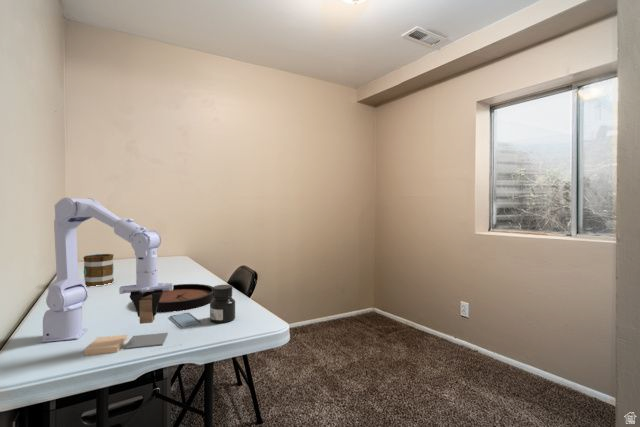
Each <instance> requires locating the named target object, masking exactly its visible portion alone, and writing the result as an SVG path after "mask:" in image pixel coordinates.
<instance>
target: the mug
mask: <svg viewBox="0 0 640 427" xmlns="http://www.w3.org/2000/svg"><path fill="white" fill-rule="evenodd" d="M114 256H115V255H114V253H113V254H111V253H99V254H98V253H96V254H89V255H88V254H87V255H85V256H83V275H84V277H83V278H84V279H83V280H85V285H87V286H96V285H104V284H108V283H112V282H113V281H114V282H115V280H114ZM114 282H113V283H114ZM113 283H112V284H113ZM87 286H86V287H87Z"/></svg>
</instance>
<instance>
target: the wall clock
mask: <svg viewBox="0 0 640 427" xmlns="http://www.w3.org/2000/svg"><path fill="white" fill-rule="evenodd" d="M213 287H214V286H212V285H208V284H202V283H201V284H199V283H183V284H182V283H181V284H179V283H178V284H173V290H172V291H169V290H166V291H164V292H163V294H162V296H161V298H160V301H159V304H158V307H157V313H172V312H173V311H176V312H182V311H183V310H184V311H189V310H193V309H198V308H201V307H205V306H207V305H210V302H211V301H212V300H213V299H214V298H213ZM153 292H154V291H150V292H143V293H142V297H152V293H153ZM173 313H174V312H173Z"/></svg>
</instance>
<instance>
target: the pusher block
mask: <svg viewBox="0 0 640 427" xmlns="http://www.w3.org/2000/svg"><path fill="white" fill-rule="evenodd" d="M139 313H140V317H139V324H142V325H143V324H153V322H154V321H155V319H156V318H155V316H156V315H155V316H153V300H152V297H142V298H141V299H140V300H139Z"/></svg>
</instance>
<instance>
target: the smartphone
mask: <svg viewBox="0 0 640 427" xmlns="http://www.w3.org/2000/svg"><path fill="white" fill-rule="evenodd" d="M169 320H171V321H172V322H173V323H174V324H175V325H176V326H177V327H178V328H179V329H182V330H184V329H188V328H189V329H190V328H192V327H198V326H201V325H203V322H202V321H200V319H198V318H197V317H196V316H194V315H193V314H192V313H191V312H183V313H178V314H172V315H169Z"/></svg>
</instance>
